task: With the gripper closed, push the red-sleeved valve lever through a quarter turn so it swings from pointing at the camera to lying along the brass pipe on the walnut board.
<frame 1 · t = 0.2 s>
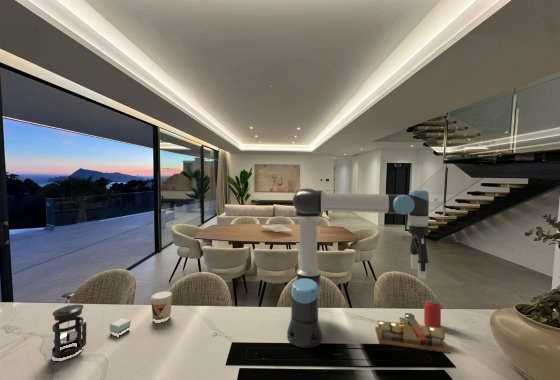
hand: (418, 273, 107), 28 cm above the kitchen island, fingers open, 13 cm apart
coffee cup: (161, 319, 119), on the kitchen island
lever: (414, 325, 98), point 10 cm above the kitchen island, hinge at 0.0°
french press: (69, 354, 94), on the kitchen island
beer can: (432, 326, 115), on the kitchen island
valve: (409, 340, 104), on the kitchen island
small box: (120, 333, 108), on the kitchen island
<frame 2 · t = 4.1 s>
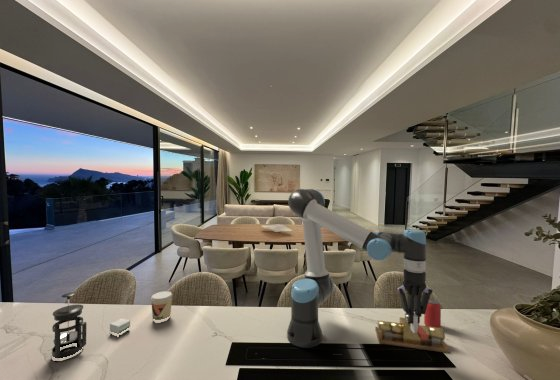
hand: (414, 331, 94), 10 cm above the kitchen island, fingers closed
lever: (415, 325, 97), point 10 cm above the kitchen island, hinge at 4.1°, touching gripper
everything else where it was.
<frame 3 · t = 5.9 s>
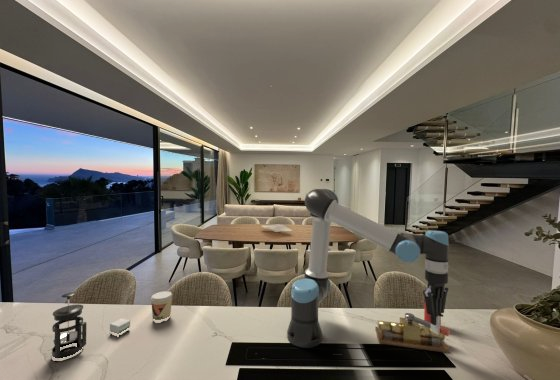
hand: (435, 332, 94), 9 cm above the kitchen island, fingers closed
lever: (425, 323, 99), point 10 cm above the kitchen island, hinge at 50.0°, touching gripper
everything else where it was.
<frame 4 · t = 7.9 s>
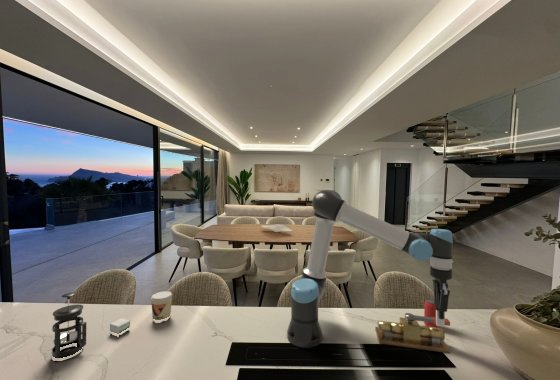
hand: (440, 325, 99), 9 cm above the kitchen island, fingers closed
lever: (426, 319, 102), point 10 cm above the kitchen island, hinge at 87.0°, touching gripper
everything else where it was.
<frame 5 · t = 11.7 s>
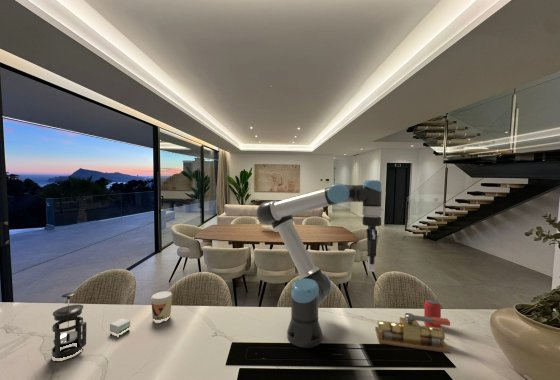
hand: (371, 270, 104), 29 cm above the kitchen island, fingers closed
lever: (426, 319, 102), point 10 cm above the kitchen island, hinge at 87.0°
everything else where it was.
at the end: lever at +87° (first picture: +0°) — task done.
